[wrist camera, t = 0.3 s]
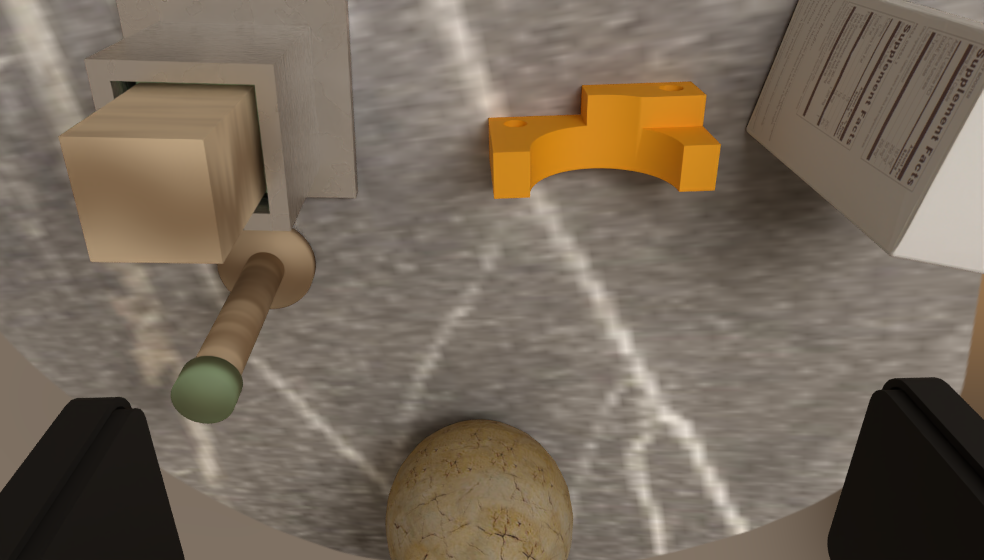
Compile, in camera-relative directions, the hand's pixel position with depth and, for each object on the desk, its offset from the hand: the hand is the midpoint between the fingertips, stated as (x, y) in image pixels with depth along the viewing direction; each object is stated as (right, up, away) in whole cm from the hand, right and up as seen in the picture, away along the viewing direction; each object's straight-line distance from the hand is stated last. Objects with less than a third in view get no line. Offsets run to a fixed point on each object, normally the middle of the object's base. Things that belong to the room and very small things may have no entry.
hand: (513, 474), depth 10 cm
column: (-14, +13, +32) cm, 37 cm away
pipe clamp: (+5, +12, +35) cm, 37 cm away
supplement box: (+21, +15, +34) cm, 42 cm away
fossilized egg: (-1, -10, +47) cm, 48 cm away
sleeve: (-14, +13, +33) cm, 38 cm away
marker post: (-15, +4, +38) cm, 41 cm away
